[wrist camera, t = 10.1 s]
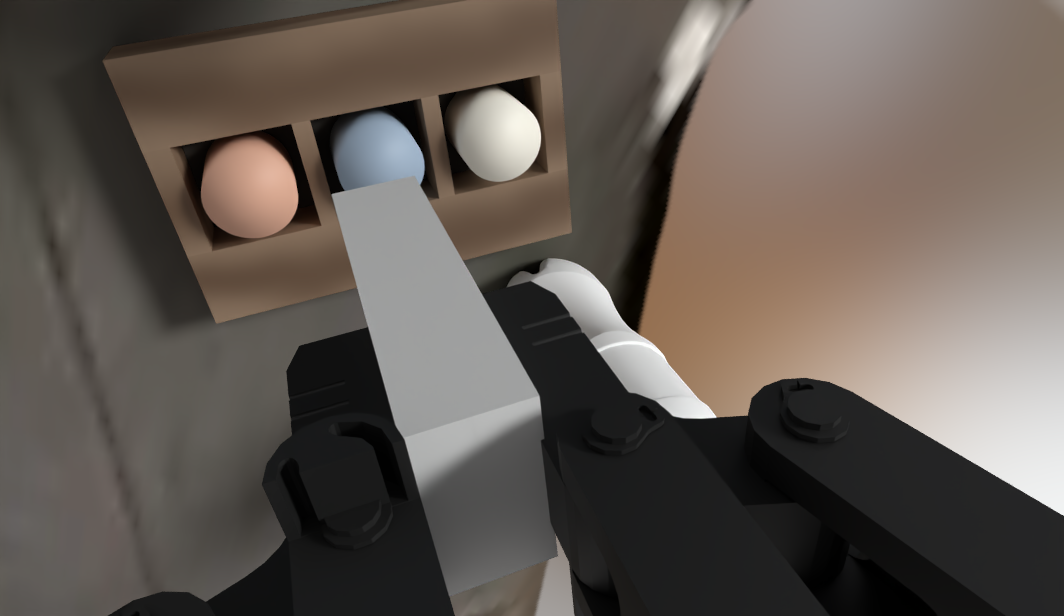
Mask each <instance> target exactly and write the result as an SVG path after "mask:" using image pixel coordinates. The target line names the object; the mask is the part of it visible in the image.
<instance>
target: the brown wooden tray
mask: <svg viewBox="0 0 1064 616" xmlns="http://www.w3.org/2000/svg"><path fill="white" fill-rule="evenodd" d="M102 61H103V63H104V66H105V68H106V70H107V73H108V75H109V77H110V79H111V82H112V84H113V86H114V89H115V91H116V93H117V96H118V98H119V100H120V103H121V105H122V107H123V109H124V112H125V114H126V116H127V119H128V121H129V123H130V126H131V128H132V130H133V132H134V135H135V137H136V139H137V142H138V144H139V146H140V149H141V151H142V153H143V156H144V158H145V160H146V162H147V165H148V167H149V169H150V172H151V174H152V176H153V179H154V181H155V183H156V186H157V188H158V190H159V192H160V195H161V197H162V199H163V202H164V204H165V206H166V209H167V211H168V213H169V215H170V218H171V220H172V222H173V225H174V227H175V229H176V232H177V234H178V236H179V239H180V241H181V243H182V245H183V248H184V250H185V252H186V255H187V257H188V259H189V262H190V264H191V266H192V269H193V271H194V273H195V275H196V278H197V280H198V282H199V285H200V287H201V289H202V292H203V294H204V296H205V298H206V301H207V303H208V305H209V308H210V310H211V312H212V315H213V317H214V319H215V322H216V324H217V323H221V322H225V321H229V320H232V319H236V318H240V317H244V316H248V315H252V314H256V313H260V312H264V311H268V310H271V309H275V308H279V307H283V306H287V305H291V304H295V303H299V302H303V301H307V300H311V299H314V298H318V297H322V296H326V295H330V294H334V293H338V292H342V291H346V290H350V289H353V288H357V285H356V281H355V277H354V274H353V270H352V267H351V263H350V259H349V256H348V252H347V249H346V245H345V241H344V238H343V234H342V231H341V227H340V223H339V220H338V216H337V213H336V209H335V205H334V202H333V200H332V197H331V193H330V190H329V186H328V183H327V179H326V175H325V172H324V168H323V165H322V161H321V158H320V154H319V151H318V147H317V143H316V140H315V136H314V133H313V129H312V126H311V122H310V120H314V119H319V118H324V117H329V116H334V115H339V114H344V113H350V112H355V111H360V110H365V109H370V108H375V107H380V106H385V105H390V104H395V103H400V102H405V101H411V100H413V105H414V110H415V115H416V120H417V126H418V131H419V136H420V141H421V147H422V152H423V157H424V162H425V167H426V173H427V178H428V179H427V180H423V181H422V182H421V184H420V186H421V188H422V190H423V192H424V193H425V195H426V197H427V199H428V200H429V202H430V204H431V206H432V207H433V209H434V211H435V213H436V215H437V216H438V218H439V220H440V222H441V223H442V225H443V227H444V229H445V230H446V232H447V234H448V236H449V237H450V239H451V241H452V243H453V244H454V246H455V248H456V250H457V251H458V253H459V255H460V257H461V258H462V260H467V259H471V258H474V257H478V256H482V255H486V254H490V253H494V252H498V251H502V250H506V249H510V248H514V247H517V246H521V245H525V244H529V243H533V242H537V241H541V240H545V239H549V238H553V237H556V236H560V235H564V234H568V233H572V228H571V214H570V199H569V184H568V169H567V154H566V139H565V124H564V109H563V94H562V79H561V64H560V49H559V35H558V20H557V5H556V0H399V1H392V2H386V3H380V4H374V5H368V6H361V7H355V8H349V9H343V10H337V11H330V12H324V13H318V14H312V15H306V16H299V17H293V18H287V19H281V20H275V21H268V22H262V23H256V24H250V25H244V26H238V27H231V28H225V29H219V30H213V31H207V32H200V33H194V34H188V35H182V36H176V37H169V38H163V39H157V40H151V41H145V42H138V43H132V44H126V45H120V46H114V47H112V48H111V50H110V51H109V52H108V54H107V55H106V56H105V58H104V59H103V60H102ZM522 78H523V81H524V91H525V101H526V108H527V109H528V110H530V111H531V112H532V114H533V115H534V116H535V118H536V119H537V122H538V124H539V127H540V132H541V144H540V148H539V152H538V155H537V157H536V159H535V160H534V162H533V163H532V165H531V166H530V167H529V168H528V169H527V170H526V171H525V172H524V173H522V174H521V175H519V176H518V177H516V178H514V179H511V180H508V181H502V182H494V181H489V180H486V179H483V178H481V177H479V176H478V175H476V174H475V173H474V172H473V171H472V170H467V171H463V172H458V173H454V174H451V169H450V163H449V157H448V151H447V145H446V139H445V133H444V127H443V121H442V115H441V110H440V104H439V98H438V95H441V94H446V93H451V92H456V91H461V90H467V89H472V88H477V87H482V86H487V85H492V84H497V83H502V82H507V81H512V80H517V79H522ZM288 124H291V125H292V128H293V132H294V135H295V138H296V142H297V145H298V148H299V152H300V155H301V158H302V162H303V165H304V169H305V172H306V175H307V179H308V182H309V185H310V189H311V192H312V195H313V199H314V202H315V205H312V206H307V207H303V208H298V209H296V212H295V214H294V216H293V218H292V219H291V221H290V222H289V223H288V224H287V225H286V226H285V227H284V228H283V229H281V230H280V231H278V232H277V233H275V234H272V235H270V236H266V237H261V238H244V237H239V236H235V235H232V234H230V233H228V232H226V231H224V230H222V229H221V228H220V227H214V226H213V224H212V221H211V219H210V218H209V216H208V215H207V213H206V211H205V209H204V207H203V204H202V199H201V194H200V191H199V188H198V186H197V183H196V181H195V178H194V176H193V173H192V171H191V168H190V166H189V163H188V161H187V158H186V156H185V153H184V151H183V148H182V145H187V144H192V143H197V142H202V141H207V140H212V139H217V138H222V137H227V136H233V135H238V134H243V133H248V132H253V131H258V130H263V129H268V128H273V127H278V126H283V125H288Z"/></svg>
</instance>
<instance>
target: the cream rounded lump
mask: <svg viewBox="0 0 1064 616" xmlns="http://www.w3.org/2000/svg"><path fill="white" fill-rule="evenodd" d="M444 126H445V132H446V135H447V138H448V139H449V141H450V143H451V144H452V146H453V147H454V148H455V149H456V151H457V152H458V153H459V155H460V156H461V157H462V159H463V160H464V161H465V162H466V164H467V165H468V166H469V168H470V169H471V170H472V171H473V172H474V173H475V174H476V175H478V176H479V177H481V178H483V179H486V180H489V181H494V182H502V181H508V180H511V179H514V178H516V177H518V176H519V175H521V174H522V173H524V172H525V171H526V170H527V169H528V168H529V167H530V166H531V165H532V163H533V162H534V160H535V159H536V157H537V155H538V152H539V148H540V144H541V132H540V127H539V124H538V122H537V119H536V118H535V116H534V115H533V114H532V112H531V111H530V110H528V109H527V108H526V107H525V106H524V105H523V104H521V103H520V102H519V101H518V100H516V99H515V98H514V97H513V96H512V95H510V94H509V93H508V92H507V91H506V90H504V89H503V88H501V87H500V86H498V85H496V84H492V85H487V86H482V87H477V88H472V89H467V90H461V91H458V92H457V93H456V94H455V95H454V97H453V98H452V99H451V101H450V103H449V104H448V107H447V109H446V113H445V118H444Z"/></svg>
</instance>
